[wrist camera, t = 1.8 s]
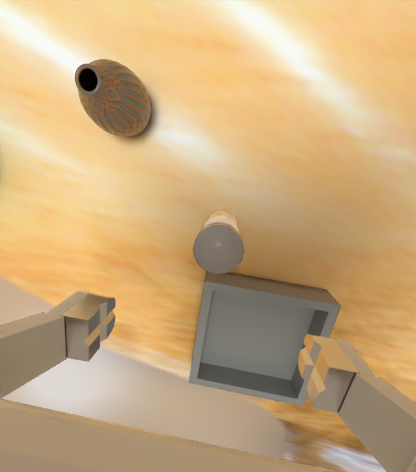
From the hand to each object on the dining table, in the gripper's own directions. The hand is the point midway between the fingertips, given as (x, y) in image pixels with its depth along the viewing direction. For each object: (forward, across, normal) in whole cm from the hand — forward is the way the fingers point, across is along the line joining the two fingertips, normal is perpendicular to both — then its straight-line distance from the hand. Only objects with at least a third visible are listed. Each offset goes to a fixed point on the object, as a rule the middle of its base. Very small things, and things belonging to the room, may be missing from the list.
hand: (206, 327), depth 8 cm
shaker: (+21, 0, 0) cm, 21 cm away
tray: (+21, -8, +16) cm, 28 cm away
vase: (+22, +14, -13) cm, 29 cm away
